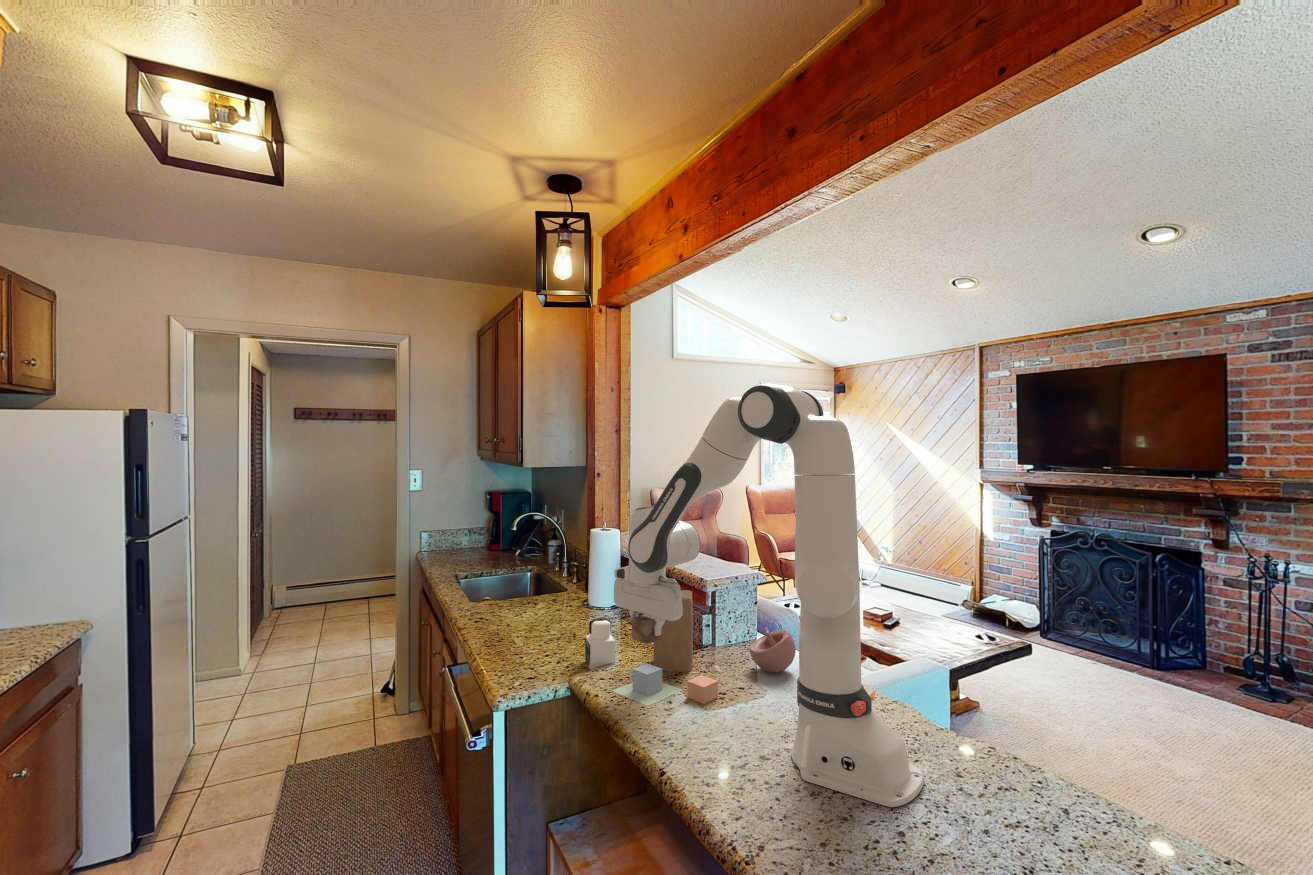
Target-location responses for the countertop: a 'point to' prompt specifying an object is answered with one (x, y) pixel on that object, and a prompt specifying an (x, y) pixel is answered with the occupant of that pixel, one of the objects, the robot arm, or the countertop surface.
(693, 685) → the brick
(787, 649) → the mortar and pestle
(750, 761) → the countertop surface
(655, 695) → the plate
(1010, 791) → the countertop surface
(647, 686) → the brick
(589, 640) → the medicine bottle
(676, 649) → the block
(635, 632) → the brick
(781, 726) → the countertop surface
